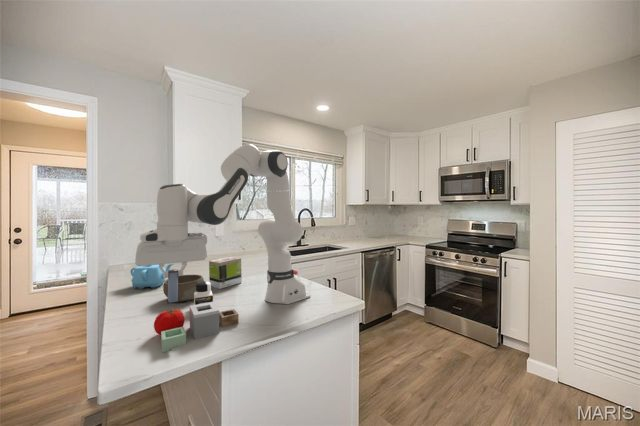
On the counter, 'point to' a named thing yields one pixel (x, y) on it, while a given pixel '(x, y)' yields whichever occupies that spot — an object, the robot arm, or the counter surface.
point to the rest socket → (172, 338)
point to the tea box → (225, 272)
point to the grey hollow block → (204, 319)
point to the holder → (228, 318)
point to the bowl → (185, 287)
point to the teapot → (148, 276)
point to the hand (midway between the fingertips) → (173, 276)
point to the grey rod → (172, 285)
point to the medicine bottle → (203, 293)
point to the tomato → (169, 320)
